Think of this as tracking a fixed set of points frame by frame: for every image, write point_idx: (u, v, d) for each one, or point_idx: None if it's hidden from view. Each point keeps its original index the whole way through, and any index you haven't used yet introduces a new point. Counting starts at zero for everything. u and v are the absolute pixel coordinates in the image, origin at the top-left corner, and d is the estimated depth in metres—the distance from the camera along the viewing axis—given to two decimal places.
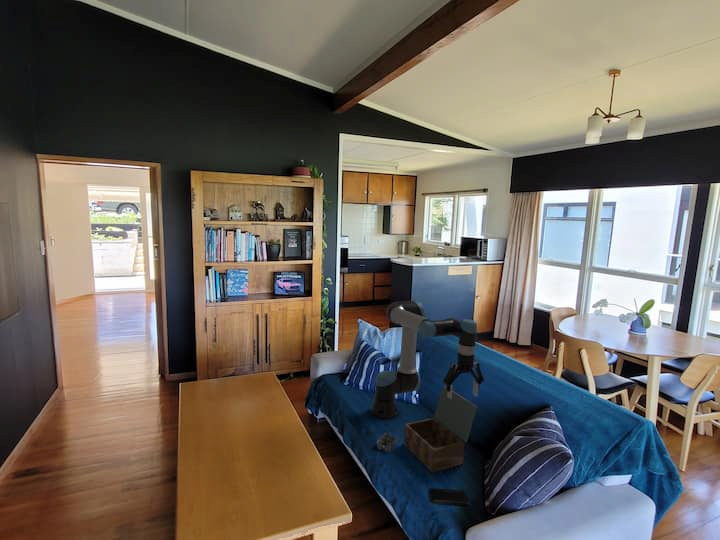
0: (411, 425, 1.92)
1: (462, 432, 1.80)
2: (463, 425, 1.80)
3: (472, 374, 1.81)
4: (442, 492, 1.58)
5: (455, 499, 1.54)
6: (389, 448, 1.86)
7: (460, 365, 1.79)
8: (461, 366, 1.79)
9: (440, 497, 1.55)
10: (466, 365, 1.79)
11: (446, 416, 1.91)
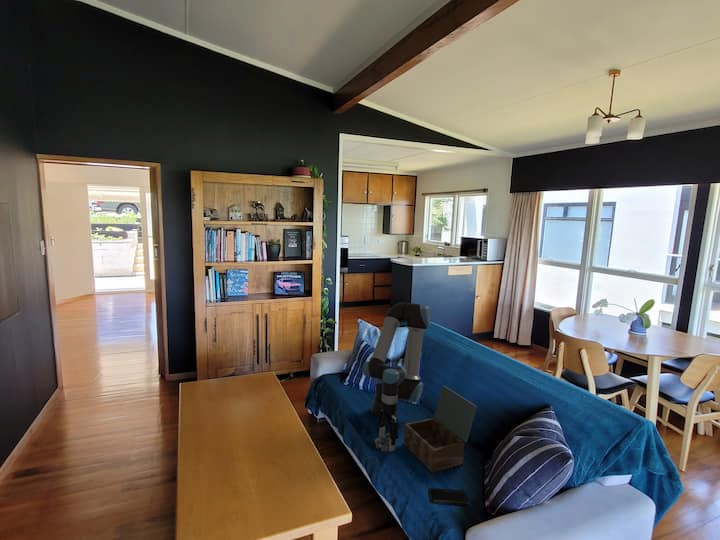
0: (411, 425, 1.92)
1: (462, 432, 1.80)
2: (463, 425, 1.80)
3: None
4: (442, 492, 1.58)
5: (455, 499, 1.54)
6: (385, 448, 1.86)
7: None
8: (384, 410, 1.91)
9: (440, 497, 1.55)
10: (386, 412, 1.88)
11: (446, 416, 1.91)
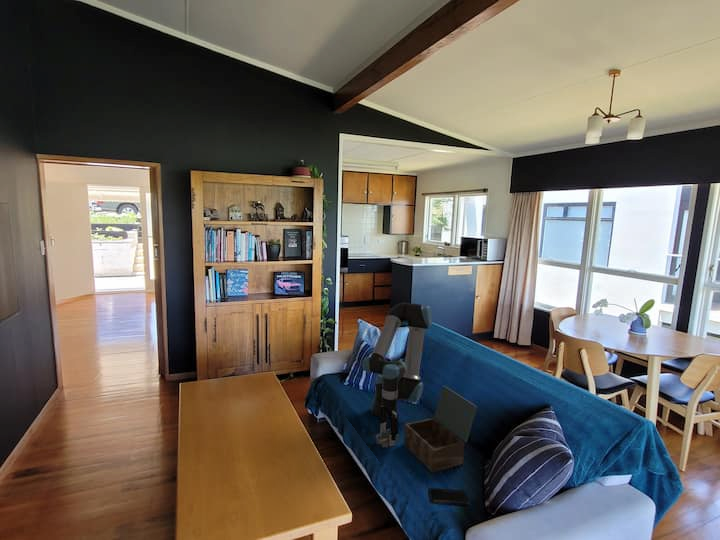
0: (411, 425, 1.92)
1: (462, 432, 1.80)
2: (463, 425, 1.80)
3: (389, 420, 1.87)
4: (442, 492, 1.58)
5: (455, 499, 1.54)
6: (386, 444, 1.86)
7: None
8: (384, 405, 1.91)
9: (440, 497, 1.55)
10: (387, 407, 1.88)
11: (446, 416, 1.91)
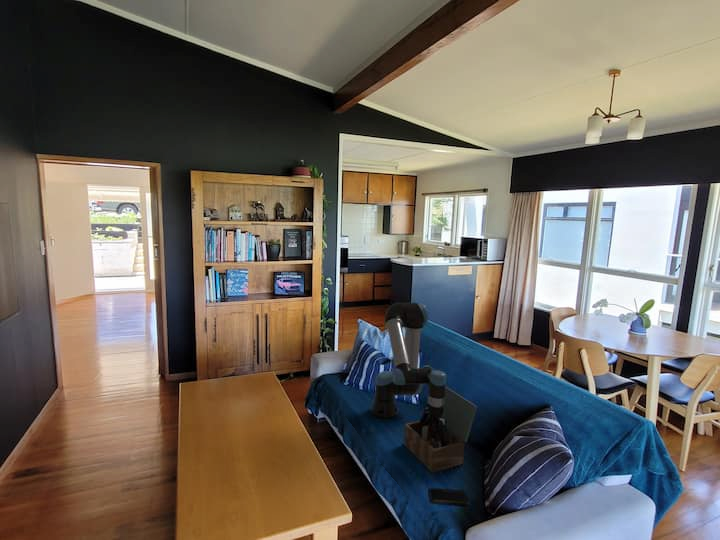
0: (411, 425, 1.92)
1: (462, 432, 1.80)
2: (463, 425, 1.80)
3: None
4: (442, 492, 1.58)
5: (455, 499, 1.54)
6: None
7: (429, 412, 1.86)
8: (429, 413, 1.85)
9: (440, 497, 1.55)
10: (432, 415, 1.83)
11: (446, 416, 1.91)
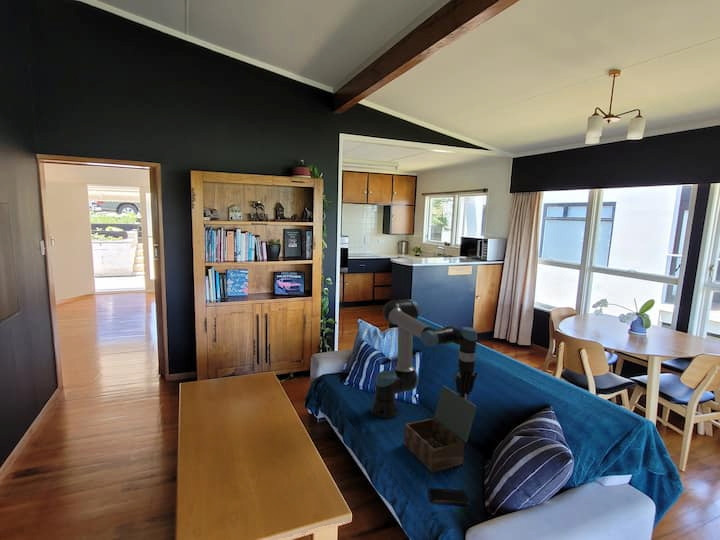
0: (411, 425, 1.92)
1: (462, 432, 1.80)
2: (463, 425, 1.80)
3: (467, 381, 1.88)
4: (442, 493, 1.58)
5: (455, 499, 1.54)
6: None
7: (462, 372, 1.86)
8: (463, 372, 1.86)
9: (440, 497, 1.55)
10: (467, 371, 1.87)
11: (446, 416, 1.91)
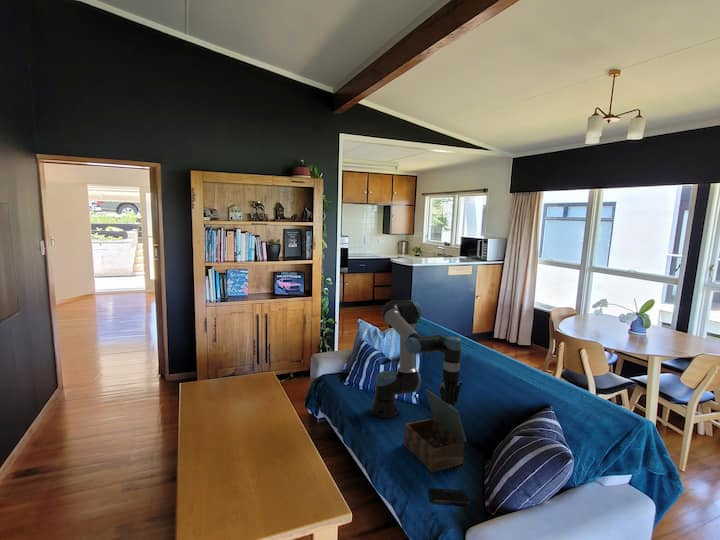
0: (411, 425, 1.92)
1: (459, 433, 1.79)
2: (457, 427, 1.79)
3: (452, 392, 1.85)
4: (442, 493, 1.58)
5: (455, 499, 1.54)
6: None
7: (446, 382, 1.82)
8: (447, 382, 1.83)
9: (440, 497, 1.55)
10: (452, 381, 1.84)
11: (441, 417, 1.90)
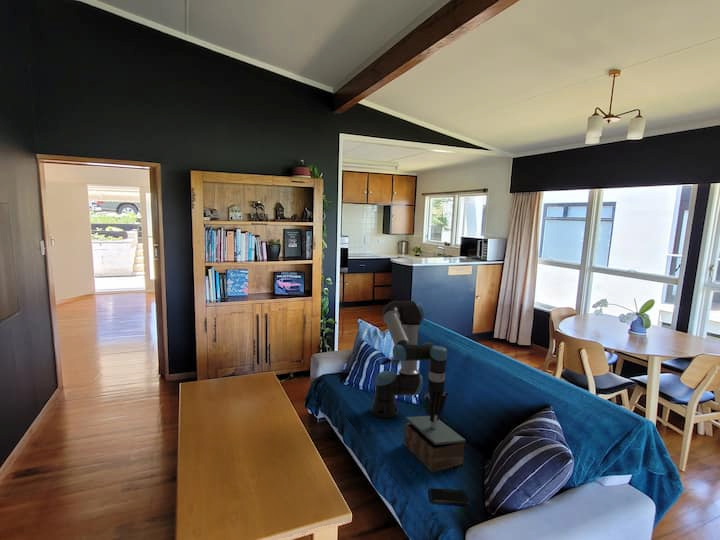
0: (411, 425, 1.92)
1: None
2: None
3: (437, 402, 1.82)
4: (442, 493, 1.58)
5: (455, 499, 1.54)
6: None
7: (431, 393, 1.79)
8: (432, 392, 1.80)
9: (440, 497, 1.55)
10: (437, 392, 1.81)
11: None
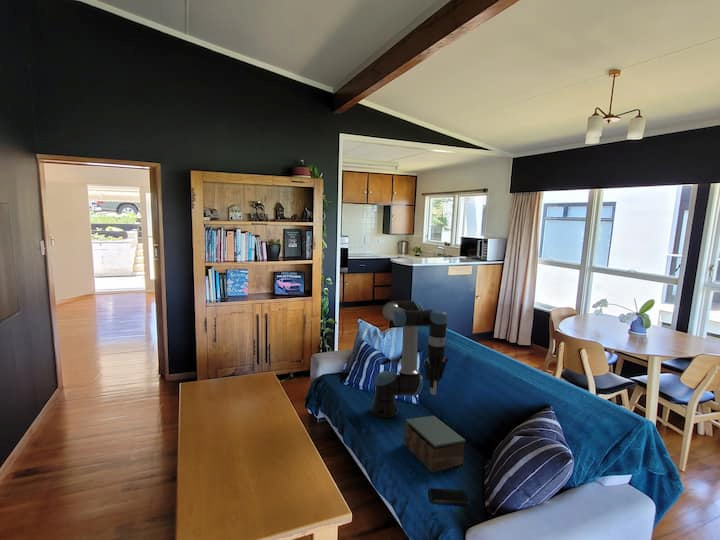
0: None
1: None
2: None
3: (437, 367, 1.79)
4: (442, 493, 1.58)
5: (455, 499, 1.54)
6: None
7: (431, 357, 1.77)
8: (432, 357, 1.77)
9: (440, 497, 1.55)
10: (437, 357, 1.78)
11: None
